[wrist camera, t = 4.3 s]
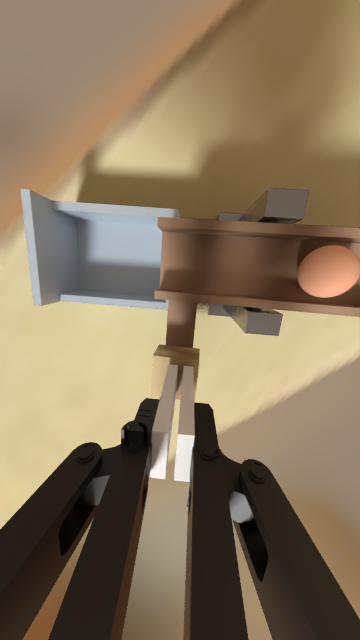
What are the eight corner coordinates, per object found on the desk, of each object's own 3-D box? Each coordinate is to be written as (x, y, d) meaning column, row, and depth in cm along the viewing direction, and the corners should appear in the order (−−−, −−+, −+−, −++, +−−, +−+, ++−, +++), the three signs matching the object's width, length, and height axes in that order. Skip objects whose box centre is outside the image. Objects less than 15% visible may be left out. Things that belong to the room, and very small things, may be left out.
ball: (338, 297, 15) (288, 292, 16) (351, 249, 14) (298, 247, 15) (363, 303, 12) (298, 297, 13) (382, 242, 11) (311, 240, 12)
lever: (157, 375, 19) (149, 395, 16) (164, 225, 16) (156, 214, 13) (350, 398, 18) (382, 425, 15) (403, 239, 15) (460, 231, 11)
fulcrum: (207, 313, 24) (219, 341, 15) (218, 213, 21) (241, 171, 12) (318, 322, 24) (402, 356, 14) (344, 222, 21) (468, 185, 12)
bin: (77, 295, 24) (33, 305, 17) (72, 213, 22) (20, 188, 15) (175, 302, 24) (170, 316, 17) (181, 221, 21) (177, 199, 15)
